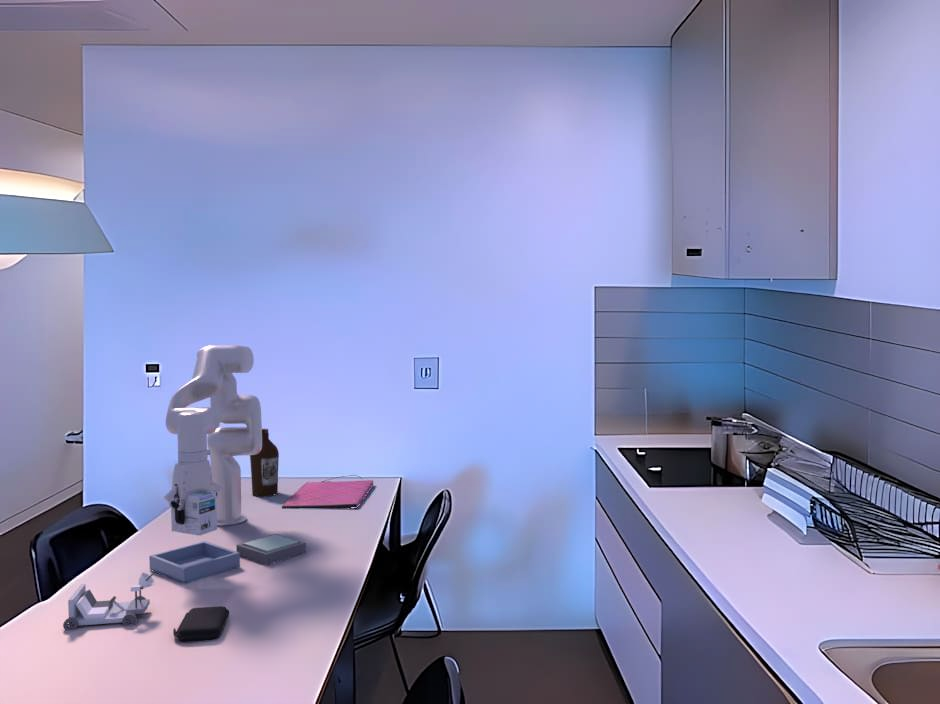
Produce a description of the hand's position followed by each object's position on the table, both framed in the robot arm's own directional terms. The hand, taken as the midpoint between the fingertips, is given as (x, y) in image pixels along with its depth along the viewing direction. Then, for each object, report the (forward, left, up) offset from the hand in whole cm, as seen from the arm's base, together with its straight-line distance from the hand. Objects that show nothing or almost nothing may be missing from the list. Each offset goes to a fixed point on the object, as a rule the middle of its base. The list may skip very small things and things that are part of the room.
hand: (193, 520), depth 214 cm
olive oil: (-55, +64, -14) cm, 86 cm away
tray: (0, 0, -13) cm, 13 cm away
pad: (+6, +21, -12) cm, 25 cm away
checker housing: (+6, +21, -13) cm, 26 cm away
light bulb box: (0, 0, -3) cm, 3 cm away
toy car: (+15, -31, -14) cm, 37 cm away
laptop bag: (-34, +79, -14) cm, 87 cm away
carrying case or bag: (+37, -21, -14) cm, 45 cm away
